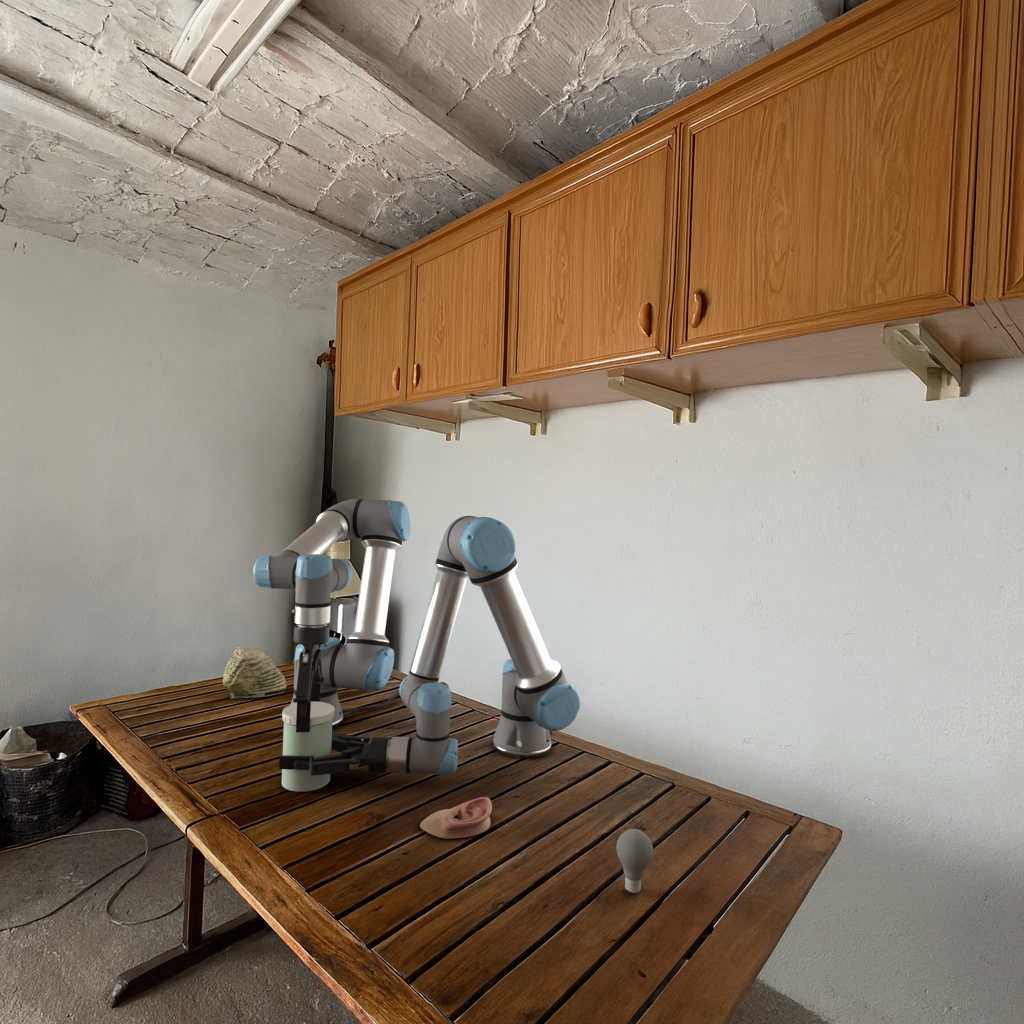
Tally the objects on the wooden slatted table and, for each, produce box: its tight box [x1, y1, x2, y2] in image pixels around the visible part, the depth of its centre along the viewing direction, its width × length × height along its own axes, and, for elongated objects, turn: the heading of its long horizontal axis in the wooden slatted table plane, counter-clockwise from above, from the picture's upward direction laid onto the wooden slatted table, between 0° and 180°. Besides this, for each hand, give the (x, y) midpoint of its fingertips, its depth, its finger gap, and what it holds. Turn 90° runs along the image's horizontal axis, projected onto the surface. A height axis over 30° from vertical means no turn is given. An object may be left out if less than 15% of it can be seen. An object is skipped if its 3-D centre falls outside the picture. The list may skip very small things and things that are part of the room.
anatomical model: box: [419, 796, 493, 840], centre depth 124 cm, size 13×4×12 cm
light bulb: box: [615, 828, 654, 894], centre depth 106 cm, size 6×6×10 cm
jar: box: [281, 719, 333, 793], centre depth 141 cm, size 10×10×15 cm
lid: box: [281, 702, 335, 725], centre depth 141 cm, size 11×11×2 cm
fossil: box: [222, 646, 288, 699], centre depth 198 cm, size 9×18×15 cm, turn 132°
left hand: (308, 721), depth 141 cm, fingers open, 12 cm apart
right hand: (288, 751), depth 140 cm, fingers closed on jar, 10 cm apart
